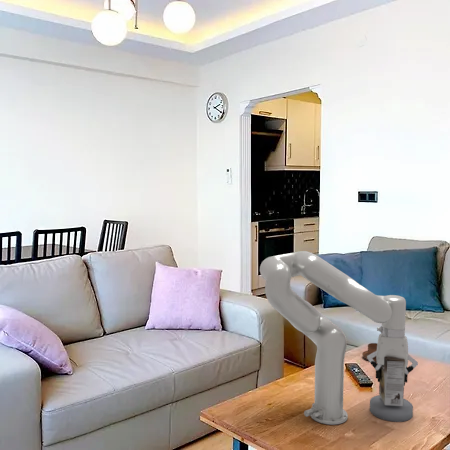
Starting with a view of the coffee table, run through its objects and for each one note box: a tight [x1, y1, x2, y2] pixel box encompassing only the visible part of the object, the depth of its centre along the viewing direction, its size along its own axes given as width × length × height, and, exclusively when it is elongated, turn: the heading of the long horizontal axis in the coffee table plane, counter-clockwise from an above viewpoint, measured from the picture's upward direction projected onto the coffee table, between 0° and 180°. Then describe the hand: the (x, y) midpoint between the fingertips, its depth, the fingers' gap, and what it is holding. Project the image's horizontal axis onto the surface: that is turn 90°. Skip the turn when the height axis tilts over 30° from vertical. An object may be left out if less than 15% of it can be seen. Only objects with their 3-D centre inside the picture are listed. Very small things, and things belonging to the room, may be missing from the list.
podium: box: [369, 394, 414, 423], centre depth 169 cm, size 14×14×3 cm
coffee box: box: [378, 357, 405, 406], centre depth 168 cm, size 9×6×16 cm
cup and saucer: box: [361, 342, 378, 363], centre depth 220 cm, size 12×12×6 cm
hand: (391, 382), depth 168 cm, fingers closed on coffee box, 7 cm apart
